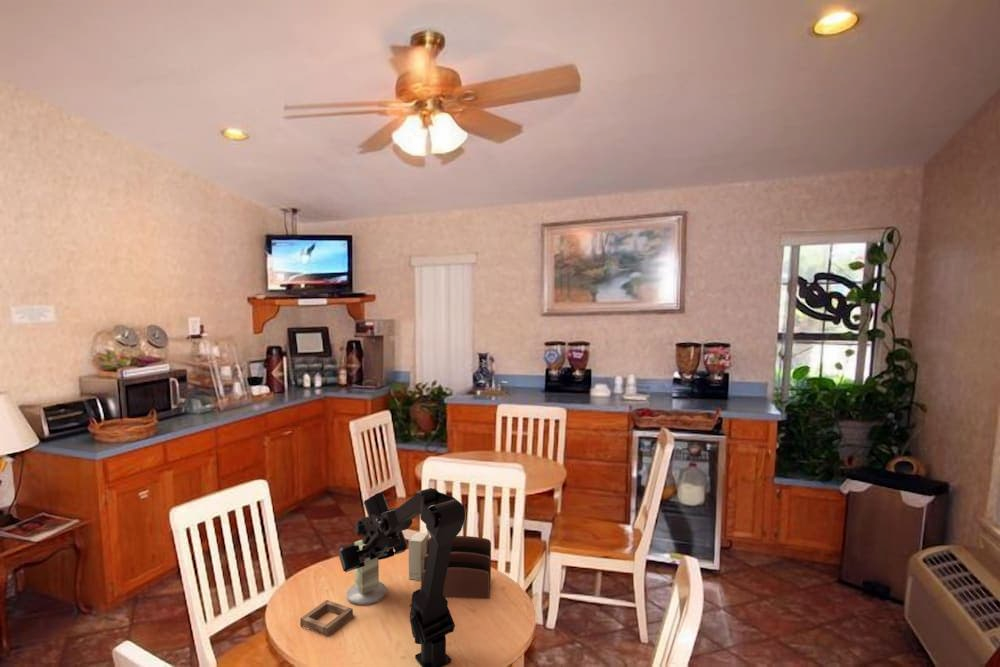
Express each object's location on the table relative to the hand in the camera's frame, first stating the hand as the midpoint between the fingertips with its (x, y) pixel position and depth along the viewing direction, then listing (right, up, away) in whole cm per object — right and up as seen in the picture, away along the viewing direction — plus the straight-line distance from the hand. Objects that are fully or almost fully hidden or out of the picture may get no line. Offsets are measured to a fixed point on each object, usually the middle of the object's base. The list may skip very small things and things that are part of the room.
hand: (364, 562), depth 142 cm
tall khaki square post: (+1, -7, -1) cm, 7 cm away
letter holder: (+27, -10, +3) cm, 28 cm away
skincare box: (+14, -9, +10) cm, 19 cm away
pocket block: (-6, -9, -13) cm, 17 cm away
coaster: (+1, -9, -1) cm, 9 cm away
